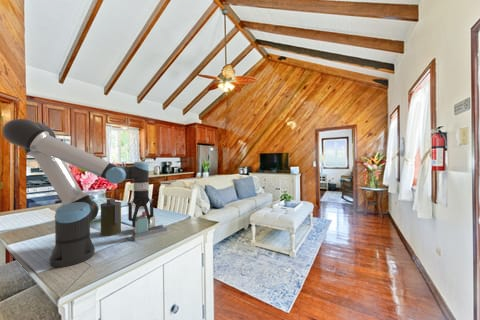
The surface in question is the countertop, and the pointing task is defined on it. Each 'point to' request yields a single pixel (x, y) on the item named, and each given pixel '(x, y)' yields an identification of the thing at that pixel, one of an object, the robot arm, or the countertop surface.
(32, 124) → the robot arm
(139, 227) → the block
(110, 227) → the canister
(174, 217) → the countertop surface
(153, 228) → the rail
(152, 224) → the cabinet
